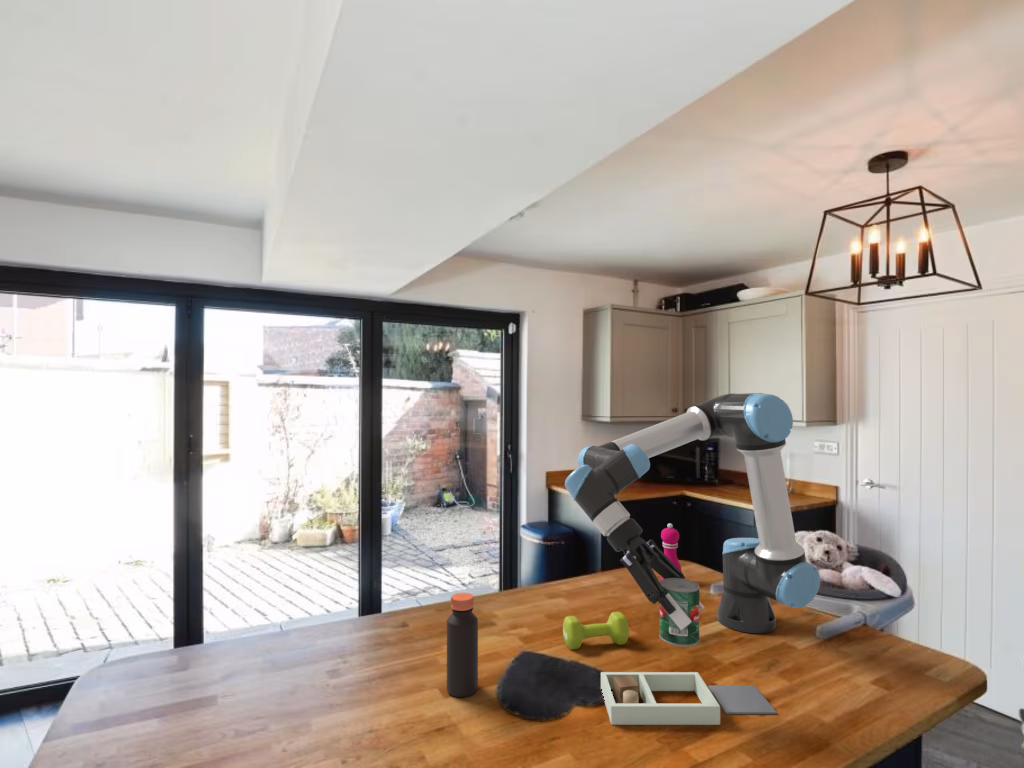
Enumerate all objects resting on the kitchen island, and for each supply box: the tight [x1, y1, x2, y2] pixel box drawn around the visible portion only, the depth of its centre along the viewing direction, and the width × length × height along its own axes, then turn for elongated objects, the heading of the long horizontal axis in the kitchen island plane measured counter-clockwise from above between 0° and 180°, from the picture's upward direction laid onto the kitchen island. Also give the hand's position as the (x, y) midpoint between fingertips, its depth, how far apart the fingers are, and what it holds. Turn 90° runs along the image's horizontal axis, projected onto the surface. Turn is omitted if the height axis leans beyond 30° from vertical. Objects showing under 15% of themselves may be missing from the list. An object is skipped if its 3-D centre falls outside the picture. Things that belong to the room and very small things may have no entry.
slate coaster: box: [707, 684, 778, 715], centre depth 114 cm, size 10×10×1 cm
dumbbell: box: [562, 611, 630, 651], centre depth 140 cm, size 16×8×7 cm, turn 101°
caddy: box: [600, 671, 721, 726], centre depth 112 cm, size 21×13×4 cm, turn 90°
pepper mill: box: [660, 523, 683, 581], centre depth 185 cm, size 7×7×20 cm
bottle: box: [446, 592, 479, 698], centre depth 118 cm, size 7×7×20 cm
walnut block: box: [612, 676, 640, 703], centre depth 114 cm, size 4×4×4 cm
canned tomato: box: [658, 578, 701, 648], centre depth 112 cm, size 8×8×11 cm
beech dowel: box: [623, 690, 638, 703], centre depth 109 cm, size 3×3×4 cm
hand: (693, 618), depth 110 cm, fingers closed on canned tomato, 8 cm apart
